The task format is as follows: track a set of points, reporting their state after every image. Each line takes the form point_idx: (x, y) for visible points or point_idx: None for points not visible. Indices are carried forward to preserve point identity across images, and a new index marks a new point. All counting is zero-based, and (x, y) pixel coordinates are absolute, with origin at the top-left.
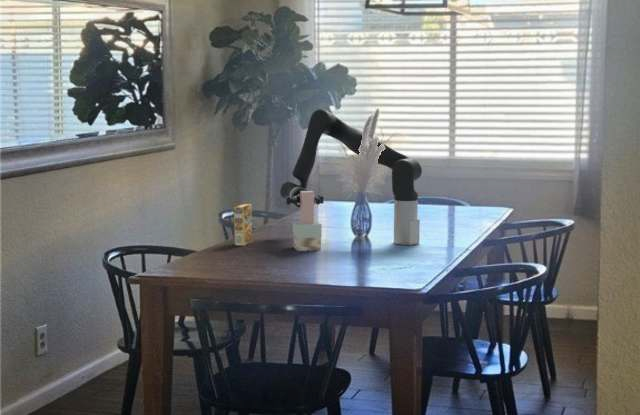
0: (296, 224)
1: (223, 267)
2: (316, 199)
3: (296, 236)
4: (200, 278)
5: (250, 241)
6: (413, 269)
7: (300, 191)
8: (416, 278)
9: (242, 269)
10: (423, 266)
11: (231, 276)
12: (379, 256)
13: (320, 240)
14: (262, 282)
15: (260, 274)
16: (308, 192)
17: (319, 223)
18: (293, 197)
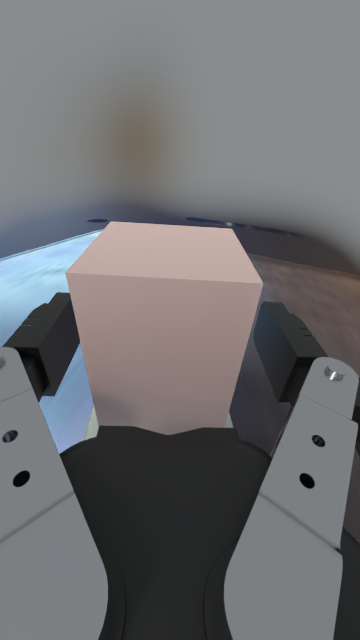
0: (232, 426)
1: (355, 314)
2: (57, 335)
3: None
4: (350, 277)
5: None
6: (46, 264)
7: (256, 276)
8: (80, 244)
9: (312, 300)
10: (13, 272)
11: (311, 277)
12: (8, 336)
13: None
14: (262, 258)
15: (273, 278)
16: (166, 227)
17: (94, 417)
18: (333, 366)
